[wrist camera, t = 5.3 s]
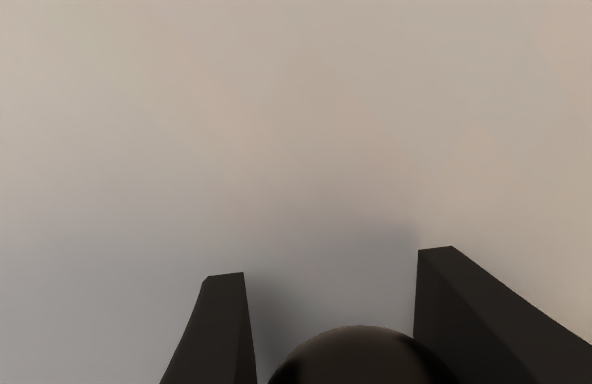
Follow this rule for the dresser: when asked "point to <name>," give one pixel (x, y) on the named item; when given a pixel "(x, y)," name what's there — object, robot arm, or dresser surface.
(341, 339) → the lever
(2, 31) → the dresser surface
